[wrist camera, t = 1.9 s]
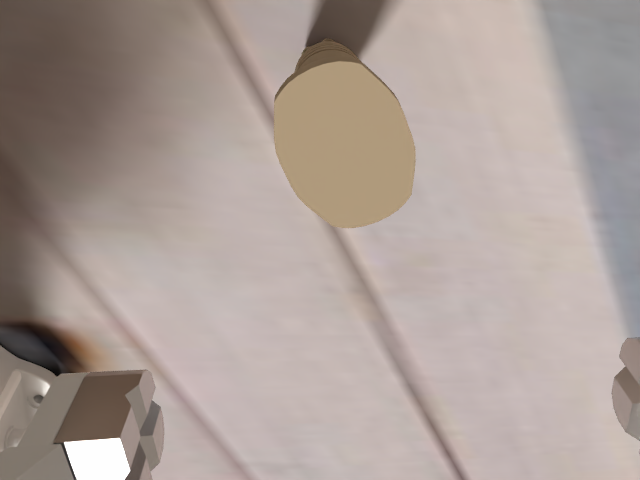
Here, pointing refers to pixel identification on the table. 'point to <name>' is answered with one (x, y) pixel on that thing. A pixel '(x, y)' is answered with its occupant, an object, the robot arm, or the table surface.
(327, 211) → the handle
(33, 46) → the table surface
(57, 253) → the table surface
